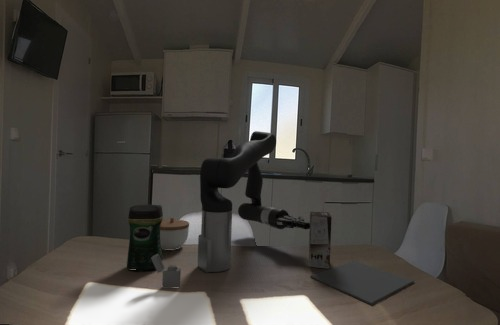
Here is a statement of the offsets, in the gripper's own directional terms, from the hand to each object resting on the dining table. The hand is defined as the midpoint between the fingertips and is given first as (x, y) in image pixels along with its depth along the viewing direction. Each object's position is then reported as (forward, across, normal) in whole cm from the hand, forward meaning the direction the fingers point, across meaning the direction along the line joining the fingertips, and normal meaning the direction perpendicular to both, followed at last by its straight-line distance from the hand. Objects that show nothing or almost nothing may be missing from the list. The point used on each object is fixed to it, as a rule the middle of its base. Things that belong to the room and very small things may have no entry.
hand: (308, 226), depth 90 cm
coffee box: (+5, 0, +11) cm, 12 cm away
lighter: (-6, -47, +11) cm, 49 cm away
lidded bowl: (-35, -35, +11) cm, 51 cm away
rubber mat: (+20, 0, +11) cm, 23 cm away
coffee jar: (-22, -48, +11) cm, 54 cm away
